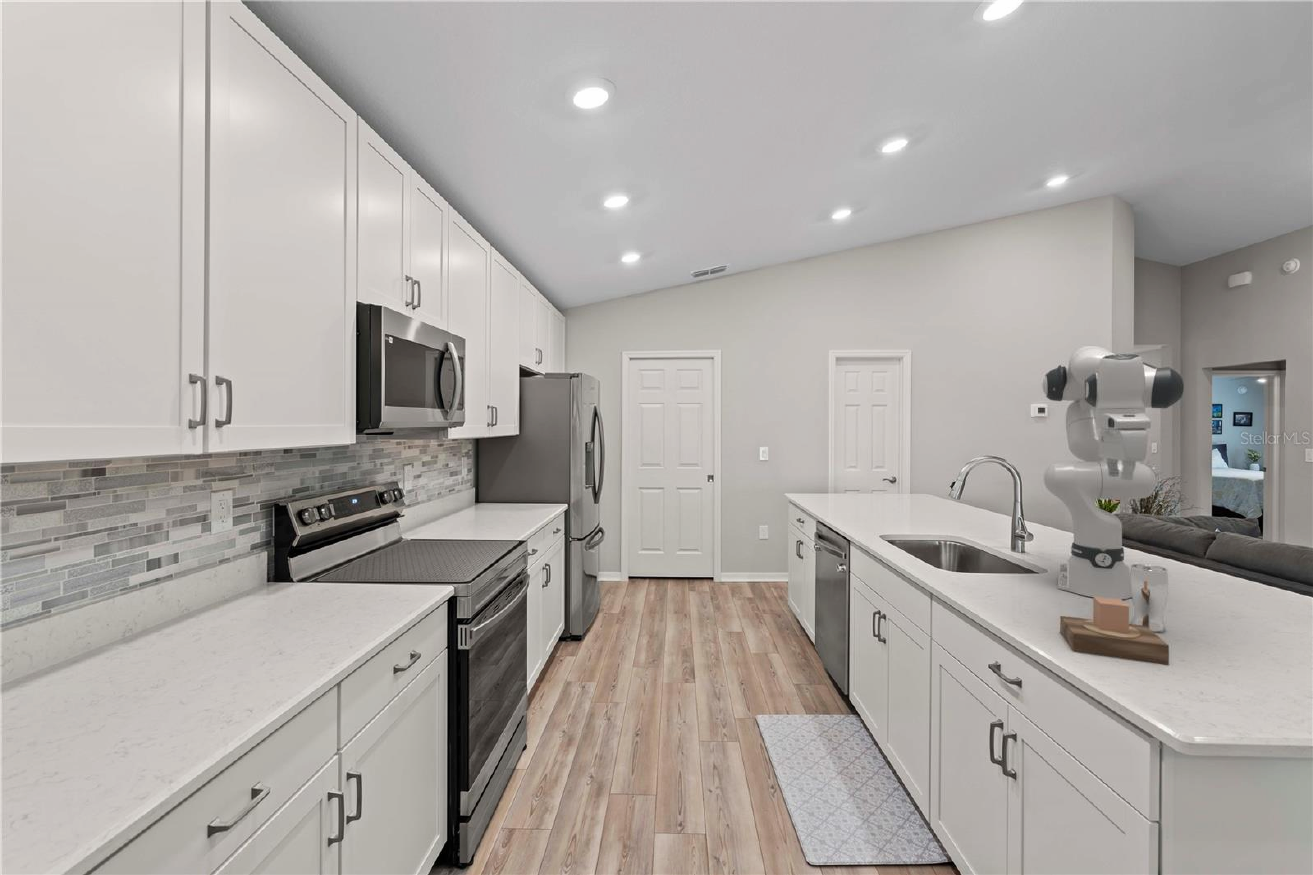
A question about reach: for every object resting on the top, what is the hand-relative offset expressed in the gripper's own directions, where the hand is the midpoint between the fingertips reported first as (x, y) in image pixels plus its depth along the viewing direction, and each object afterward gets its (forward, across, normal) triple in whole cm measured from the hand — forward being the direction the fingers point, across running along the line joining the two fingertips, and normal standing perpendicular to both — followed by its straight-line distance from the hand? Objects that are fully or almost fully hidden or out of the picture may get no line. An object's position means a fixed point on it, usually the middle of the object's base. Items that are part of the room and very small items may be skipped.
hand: (1119, 478), depth 129 cm
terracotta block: (+33, +13, -5) cm, 35 cm away
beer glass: (+37, -5, +7) cm, 38 cm away
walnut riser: (+37, +13, -5) cm, 40 cm away
